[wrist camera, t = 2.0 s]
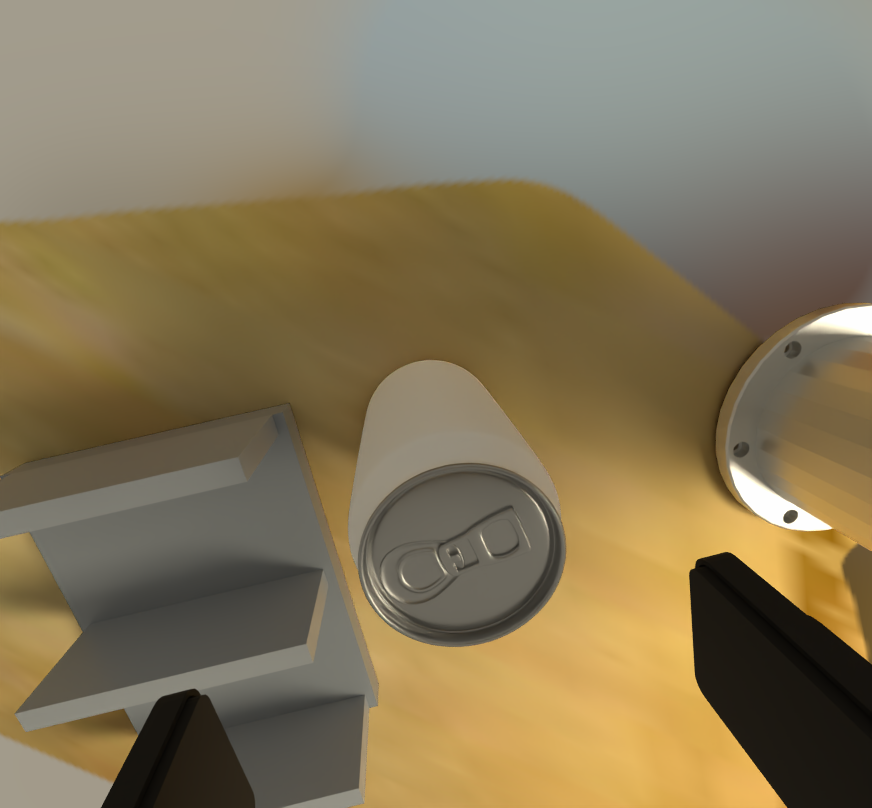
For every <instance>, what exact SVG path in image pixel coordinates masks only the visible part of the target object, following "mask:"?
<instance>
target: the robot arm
mask: <svg viewBox="0 0 872 808" xmlns="http://www.w3.org/2000/svg"><path fill="white" fill-rule="evenodd" d="M716 456H717V461H718V466H719V471H720V473H721V475H722V478H723V480H724V482H725V484H726V487H727V488H728V489H729V491H730V492H731V493H732V495H733V496H734V497H735V498H736V500H737V501H738V502H739V503H741V504H742V505H743V506H744V507H746V508H747V509H748V510H749V511H751V512H752V513H754V514H755V515H757V516H758V517H760V518H762V519H763V520H765V521H766V522H768V523H770V524H773V525H775V526H778V527H781V528H784V529H789V530H798V531H819V530H828V529H832V528H833V529H835V530H837V531H838V532H840V533H842V534H843V535H845V536H847V537H848V538H850V539H852V540H853V541H855V542H857V543H858V544H860V545H862V546H864V547H865V548H867V549H869V550H870V551H872V304H871V303H842V304H837V305H833V306H829V307H825V308H820V309H818V310H815V311H813V312H811V313H808V314H806V315H804V316H801V317H799V318H797V319H795V320H794V321H792V322H791V323H789V324H788V325H786V326H784V327H783V328H781V329H780V330H778V331H776V332H775V333H774V334H773V335H772V336H771V337H770V338H768V339H767V340H766V341H765V342H764V343H763V344H762V345H761V346H759V347H758V348H757V349H756V351H755V352H754V353H753V354H752V355H751V357H750V358H749V359H748V360H747V361H746V363H745V364H744V365H743V366H742V367H741V369H740V371H739V372H738V374H737V376H736V377H735V379H734V381H733V382H732V384H731V386H730V387H729V390H728V392H727V395H726V397H725V400H724V402H723V405H722V407H721V410H720V414H719V419H718V424H717V429H716ZM689 579H690V597H691V614H692V632H693V649H694V667H695V677H696V680H697V683H698V686H699V688H700V690H701V692H702V693H703V695H704V696H705V698H706V699H707V701H708V702H709V703H710V705H711V706H712V707H713V709H714V710H715V711H716V713H717V714H718V715H719V717H720V718H721V719H722V721H723V722H724V723H725V725H726V726H727V727H728V729H729V730H730V731H731V733H732V734H733V735H734V737H735V738H736V739H737V741H738V742H739V744H740V745H741V746H742V748H743V749H744V750H745V752H746V753H747V754H748V756H749V757H750V758H751V760H752V761H753V762H754V764H755V765H756V766H757V768H758V769H759V770H760V772H761V773H762V774H763V776H764V777H765V778H766V780H767V781H768V782H769V784H770V785H771V786H772V788H773V789H774V790H775V792H776V793H777V794H778V796H779V797H780V798H781V800H782V801H783V802H784V804H785V805H786V806H787V808H872V664H870V663H869V662H868V661H867V660H866V659H864V658H863V657H862V656H861V655H859V654H858V653H857V652H856V651H855V650H853V649H852V648H851V647H850V646H848V645H847V644H846V643H845V642H844V641H842V640H841V639H840V638H839V637H837V636H836V635H835V634H834V633H832V632H831V631H830V630H829V629H828V628H826V627H825V626H824V625H823V624H821V623H820V622H819V621H817V620H816V619H814V618H813V617H811V616H809V615H806V614H805V613H804V612H803V611H801V610H800V609H799V608H798V607H797V606H795V605H794V604H793V603H792V602H790V601H789V600H788V599H787V598H786V597H784V596H783V595H782V594H781V593H780V592H778V591H777V590H776V589H775V588H774V587H772V586H771V585H770V584H769V583H767V582H766V581H765V580H764V579H763V578H761V577H760V576H759V575H758V574H757V573H755V572H754V571H753V570H752V569H750V568H749V567H748V566H747V565H746V564H744V563H743V562H742V561H741V560H740V559H738V558H737V557H736V556H735V555H733V554H731V553H729V552H724V553H720V554H716V555H713V556H709V557H705V558H701V559H698V560H697V561H696V565H695V569H692V570H690V573H689ZM101 808H255V797H254V793H253V790H252V788H251V786H250V784H249V782H248V779H247V777H246V775H245V773H244V771H243V769H242V766H241V764H240V762H239V760H238V758H237V756H236V754H235V751H234V749H233V747H232V745H231V743H230V741H229V739H228V736H227V734H226V732H225V730H224V728H223V726H222V723H221V721H220V719H219V717H218V715H217V713H216V711H215V708H214V706H213V704H212V702H211V700H210V698H209V697H208V696H207V695H206V694H205V695H201V694H200V693H199V691H198V690H196V689H195V688H194V689H189V690H185V691H181V692H177V693H173V694H169V695H165V696H162V697H161V698H159V699H158V700H157V702H156V703H155V705H154V706H153V708H152V710H151V712H150V714H149V716H148V718H147V720H146V722H145V724H144V726H143V728H142V730H141V731H140V733H139V735H138V737H137V739H136V741H135V743H134V745H133V747H132V749H131V751H130V753H129V755H128V757H127V759H126V760H125V762H124V764H123V766H122V768H121V770H120V772H119V774H118V776H117V778H116V780H115V782H114V784H113V786H112V788H111V789H110V792H109V793H108V795H107V797H106V799H105V801H104V803H103V805H102V807H101Z"/></svg>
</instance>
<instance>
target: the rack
mask: <svg viewBox="0 0 872 808" xmlns="http://www.w3.org/2000/svg"><path fill="white" fill-rule="evenodd" d="M0 478H1V480H0V539H1V538H5V537H10V536H14V535H18V534H23V533H27V532H30V534H31V536H32V538H33V539H34V541H35V543H36V545H37V547H38V549H39V551H40V553H41V554H42V556H43V558H44V560H45V562H46V564H47V566H48V567H49V569H50V571H51V573H52V575H53V577H54V579H55V581H56V582H57V584H58V586H59V588H60V590H61V592H62V594H63V596H64V597H65V599H66V601H67V603H68V605H69V607H70V609H71V610H72V612H73V614H74V616H75V618H76V620H77V622H78V624H79V625H80V627H81V629H82V631H83V633H82V634H81V635H80V637H79V638H78V639H77V640H76V641H75V642H74V644H73V645H72V646H71V647H70V648H69V650H68V651H67V652H66V653H65V654H64V656H63V657H62V658H61V659H60V660H59V662H58V663H57V664H56V665H55V666H54V667H53V669H52V670H51V671H50V672H49V673H48V675H47V676H46V677H45V678H44V679H43V681H42V682H41V683H40V684H39V685H38V686H37V688H36V689H35V690H34V691H33V692H32V694H31V695H30V696H29V697H28V698H27V700H26V701H25V702H24V703H23V704H22V705H21V707H20V708H19V709H18V710H17V711H16V713H15V716H16V717H17V719H18V720H19V722H20V723H21V725H22V727H23V728H24V730H25V731H26V732H28V731H32V730H36V729H40V728H44V727H49V726H53V725H57V724H61V723H65V722H69V721H73V720H78V719H82V718H86V717H90V716H94V715H98V714H103V713H107V712H111V711H115V710H119V709H123V708H124V710H125V711H126V713H127V715H128V717H129V719H130V721H131V723H132V725H133V726H134V728H135V730H136V732H137V734H138V735H139V733H140V731H141V730H142V728H143V726H144V724H145V722H146V720H147V718H148V716H149V714H150V712H151V710H152V708H153V706H154V705H155V703H156V702H157V700H158V699H159V698H161V697H162V696H165V695H169V694H173V693H177V692H181V691H185V690H189V689H194V688H195V689H196V690H198V691H199V693H200V694H201V695H205V694H206V695H207V696H208V697H209V698H210V700H211V702H212V704H213V706H214V708H215V711H216V713H217V715H218V717H219V719H220V721H221V723H222V726H223V728H224V730H225V732H226V734H227V736H228V739H229V741H230V743H231V745H232V747H233V749H234V751H235V754H236V756H237V758H238V760H239V762H240V764H241V766H242V769H243V771H244V773H245V775H246V777H247V779H248V782H249V784H250V786H251V788H252V790H253V793H254V797H255V808H347V807H351V806H355V805H359V804H363V803H364V800H365V781H366V762H367V742H368V723H369V708H371V707H375V706H378V686H379V683H378V680H377V677H376V674H375V671H374V668H373V664H372V661H371V658H370V655H369V652H368V649H367V646H366V642H365V639H364V636H363V633H362V630H361V627H360V623H359V620H358V617H357V614H356V611H355V608H354V605H353V601H352V598H351V595H350V592H349V589H348V586H347V583H346V579H345V576H344V573H343V570H342V567H341V564H340V561H339V557H338V554H337V551H336V548H335V545H334V542H333V538H332V535H331V532H330V529H329V526H328V523H327V520H326V516H325V513H324V510H323V507H322V504H321V501H320V498H319V494H318V491H317V488H316V485H315V482H314V479H313V476H312V472H311V469H310V466H309V463H308V460H307V457H306V453H305V450H304V447H303V444H302V441H301V438H300V435H299V431H298V428H297V425H296V422H295V419H294V416H293V413H292V409H291V406H290V403H288V404H283V405H279V406H275V407H270V408H266V409H261V410H257V411H253V412H248V413H244V414H239V415H235V416H231V417H226V418H222V419H217V420H213V421H209V422H204V423H200V424H195V425H191V426H187V427H182V428H178V429H173V430H169V431H165V432H160V433H156V434H151V435H147V436H143V437H138V438H134V439H129V440H125V441H120V442H116V443H112V444H107V445H103V446H98V447H94V448H90V449H85V450H81V451H76V452H72V453H68V454H63V455H59V456H54V457H50V458H46V459H41V460H37V461H32V462H28V463H24V464H22V465H20V466H19V467H17V468H15V469H13V470H11V471H9V472H7V473H6V474H4V475H2V476H0Z"/></svg>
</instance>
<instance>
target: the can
mask: <svg viewBox="0 0 872 808" xmlns="http://www.w3.org/2000/svg"><path fill="white" fill-rule="evenodd" d="M348 537H349V545H350V550H351V554H352V557H353V560H354V563H355V565H356V567H357V569H358V572H359V578H360V582H361V586H362V589H363V591H364V594H365V596H366V598H367V600H368V601H369V603H370V605H371V606H372V608H373V609H374V610H375V612H376V613H377V614H378V615H379V616H380V617H381V618H382V619H383V620H384V621H385V622H386V623H387V624H388V625H389V626H391V627H392V628H393V629H395V630H396V631H398V632H400V633H401V634H403V635H405V636H407V637H409V638H412V639H414V640H417V641H420V642H423V643H427V644H431V645H437V646H445V647H463V646H472V645H478V644H482V643H486V642H490V641H493V640H496V639H498V638H501V637H503V636H505V635H507V634H509V633H511V632H513V631H515V630H516V629H518V628H520V627H521V626H523V625H524V624H525V623H527V622H528V621H529V620H531V619H532V618H533V617H534V616H535V615H536V614H537V613H538V612H539V611H540V610H541V609H542V608H543V607H544V606H545V604H546V603H547V602H548V600H549V599H550V598H551V596H552V595H553V593H554V591H555V589H556V587H557V585H558V583H559V581H560V578H561V576H562V573H563V569H564V564H565V558H566V538H565V532H564V528H563V525H562V522H561V509H560V503H559V498H558V495H557V492H556V489H555V486H554V484H553V482H552V480H551V478H550V476H549V474H548V472H547V470H546V469H545V467H544V466H543V464H542V463H541V461H540V460H539V458H538V457H537V456H536V454H535V453H534V452H533V450H532V449H531V447H530V446H529V445H528V443H527V442H526V441H525V439H524V438H523V437H522V435H521V434H520V433H519V431H518V430H517V429H516V427H515V426H514V425H513V423H512V422H511V421H510V419H509V418H508V417H507V415H506V414H505V413H504V411H503V410H502V409H501V407H500V406H499V405H498V404H497V402H496V401H495V400H494V398H493V397H492V396H491V394H490V393H489V392H488V391H487V389H486V388H485V387H484V386H483V384H482V383H481V382H480V381H479V380H478V379H477V378H476V377H475V376H474V375H473V374H471V373H470V372H469V371H467V370H466V369H464V368H462V367H460V366H458V365H455V364H453V363H449V362H445V361H440V360H423V361H417V362H413V363H410V364H407V365H405V366H403V367H401V368H399V369H397V370H395V371H394V372H392V373H391V374H390V375H389V376H387V377H386V378H385V379H384V380H383V381H382V382H381V383H380V385H379V386H378V387H377V389H376V390H375V392H374V394H373V396H372V398H371V400H370V402H369V405H368V408H367V412H366V417H365V422H364V427H363V432H362V438H361V443H360V449H359V454H358V460H357V466H356V472H355V477H354V483H353V489H352V495H351V502H350V509H349V518H348Z"/></svg>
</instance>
